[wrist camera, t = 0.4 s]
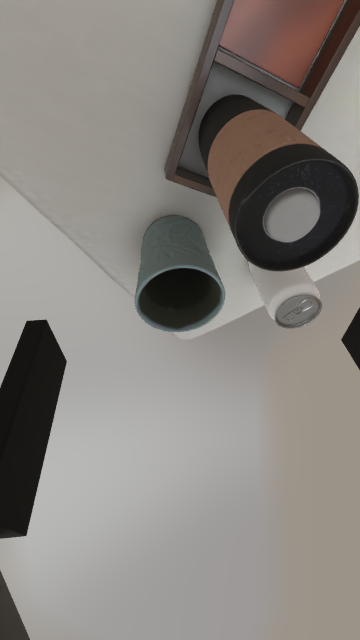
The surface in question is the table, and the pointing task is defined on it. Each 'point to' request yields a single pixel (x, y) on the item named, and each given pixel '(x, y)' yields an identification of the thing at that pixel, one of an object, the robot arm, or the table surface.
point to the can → (288, 295)
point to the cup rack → (268, 58)
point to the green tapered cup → (177, 277)
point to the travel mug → (275, 185)
